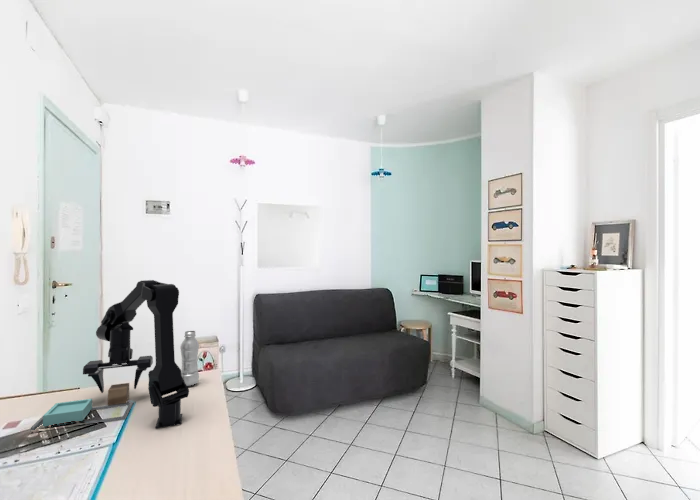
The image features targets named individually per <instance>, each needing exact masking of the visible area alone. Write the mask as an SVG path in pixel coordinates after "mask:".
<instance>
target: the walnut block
mask: <svg viewBox="0 0 700 500" xmlns="http://www.w3.org/2000/svg"><path fill="white" fill-rule="evenodd" d="M129 398H130V382H126V383H119V384H117V383H115V384H111V386H110V387H109V388H108V389H107V405H112V404H120V403H127V402H128V400H129Z"/></svg>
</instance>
